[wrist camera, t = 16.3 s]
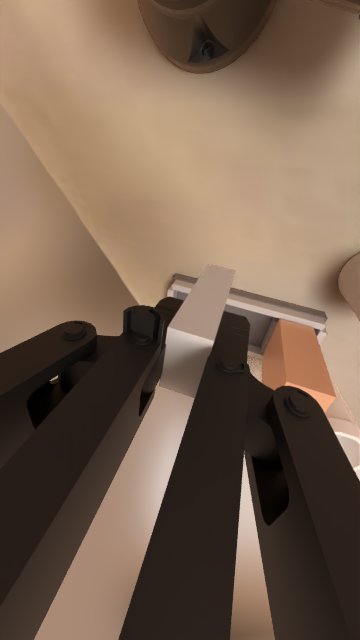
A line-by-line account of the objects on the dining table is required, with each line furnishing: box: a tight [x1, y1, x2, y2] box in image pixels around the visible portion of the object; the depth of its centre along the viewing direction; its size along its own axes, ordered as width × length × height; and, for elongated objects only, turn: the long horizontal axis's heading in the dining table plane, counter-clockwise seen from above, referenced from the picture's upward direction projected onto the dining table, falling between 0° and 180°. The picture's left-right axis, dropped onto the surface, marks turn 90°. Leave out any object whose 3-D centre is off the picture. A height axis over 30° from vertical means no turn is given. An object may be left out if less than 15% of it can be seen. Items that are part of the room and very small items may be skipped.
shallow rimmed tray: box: [167, 274, 327, 360], centre depth 41 cm, size 25×10×4 cm, turn 81°
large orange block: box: [261, 317, 337, 413], centre depth 33 cm, size 6×8×16 cm
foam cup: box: [325, 381, 360, 471], centre depth 41 cm, size 10×9×13 cm
